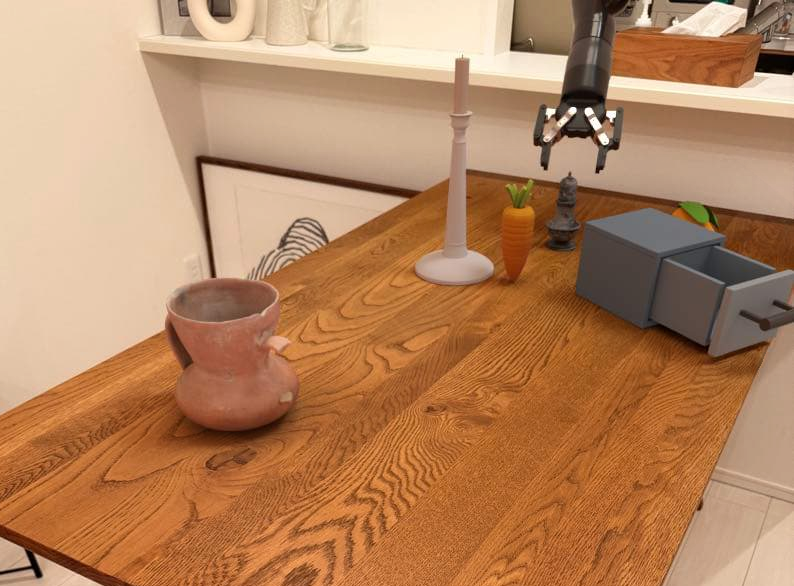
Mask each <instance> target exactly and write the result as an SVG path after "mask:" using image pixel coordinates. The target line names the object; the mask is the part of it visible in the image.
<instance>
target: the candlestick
mask: <svg viewBox="0 0 794 586" xmlns="http://www.w3.org/2000/svg"><path fill="white" fill-rule="evenodd" d="M454 59H455V60H454V84H453V85H454V86H453V89H454V90H453V110H450V111H448V112H447V114H448V115H449V117H450V119H451V122H450V127H451V128H452V129H453V139H452V140H451V143H452V144H451V157H450V167H449V168H450V169H449V170H450V171H449V180H448V181H449V182H448V193H447V194H448V195H447V205H446V206H447V207H446V219H445V220H446V221H445V230H444V240H443V242H444V243H443V249H439V250H434V251H432V252H428V253H427V254H425V255H423V256H422V257H421V258H420V259H418V260H417V261H416V262H415V265H414V272H415V275H416V276H417V277H418V278H420V279H422V280H424V281H426V282H428V283H432V284H435V285H441V286H467V285H473V284H478V283H481V282H484V281H486V280H488V279H490V278H491V277H492V276H493V275H494V272H495V271H494V270H495V266H494V263H493V262H492V261H491V260H490V259H489V258H488V257H487V256H485V255H484V254H482V253H480V252H477V251H475V250H471V249H468V247H467V139H466V133H467V128H468V127H469V126H470V121H469V119H470V117H471V116H472V115H473V114H474V112H473V111H470V110H469V109H468V106H469V84H470V62H471V61H470V60H471V58H470V57H464V54H462V55H461V57H456V58H454Z"/></svg>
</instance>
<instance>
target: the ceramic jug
mask: <svg viewBox="0 0 794 586" xmlns="http://www.w3.org/2000/svg"><path fill="white" fill-rule="evenodd" d="M165 306H166V311H167V314H166V317H165V321H164V333H165V338H166V341H167V343H168V346H169V348H170V350H171V352H172V354H173V356H174V357H175V359H176V361H177V362H178V364H179V366H180V368H181V369H182V372H181V374H180V375H179V376H178V378H177V380H176V383H175V385H174V390H173V397H174V401H175V403H176V406H177V408H178V409H179V411H180V412H181V413H182V415H184V417H185V418H187V419H188V420H190V421H191V422H193V423H194V424H195V425H198V426H201V427H204V428H205V429H210V430H214V431H222V432H243V431H249V430H253V429H259V428H262V427H264V426H266V425H269V424H271V423H273V422H275V421H277V420H279V419H280V418H282V417H283V416H284V415H286V414H287V413H288V412H289V411H290V410H291V409H292V408H293V407H294V405H295V403H296V401H297V399H298V396H299V392H300V379H299V376H298V373H297V370H295V368H294V367H293V366H292V365H291V364H290V363H289V362H287V360H285V359H283V357H280V356H278V355H283V354H284V352H285V351H286V349H287V348H288V347H290V346H291V345H292V342H291V341H290V340H289V339H288V338H287V337H284V336H281V335H275V330H276V328H277V326H278V323H279V320H280V319H279V318H280V311H281V297H280V292H279V291H278V289H277V288H276V287H275V286H274V285H272V284H271V283H268V282H266V281H264V280H258V279H251V278H240V277H213V278H212V277H211V278H203V279H200V280H195V281H194V282H188V283H186V284H182V285H181V286H179V287H177V288H175V290H174V291H173V292H171V293H170V294H169V295H168V297H167V298H166V305H165ZM271 350H273V351H274V352H276V354H274V353H271Z"/></svg>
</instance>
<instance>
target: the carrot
mask: <svg viewBox="0 0 794 586" xmlns="http://www.w3.org/2000/svg"><path fill="white" fill-rule="evenodd" d="M533 185H534V180H533V179H528V181H527V183H526V185H522V187H521V189H520V190H519V191H518V188H517V185H516V183H513V184H512V185H511V184H510V183H507V184H506V185H505V188H504V189H506V192H507V193H508V195H509V197H510V200H511V202H512V204H511V205H508V206H506V207H505V208H504V209H503V211H502V215H501V252H502V259H503V264H504V268H505V271H506V273H507V277H508V279H509V280H510V281H511V282H512V283H514V282H515V281H516V280H518V278H519V276H520V275H521V273H522V272H523V270H524V268H525V266H526V263H527V260H528V257H529V254H530V251H531V246H532V242H533V235H534V229H535V222H536V214H535V211H534V208H533V207H532V206H530V205H528V204H526V203H527V201H528V200H529V199H530V197H531V196H532V193H531V191H532V188H533Z"/></svg>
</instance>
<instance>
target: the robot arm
mask: <svg viewBox="0 0 794 586" xmlns="http://www.w3.org/2000/svg"><path fill="white" fill-rule="evenodd" d="M631 1H632V0H570V8H571V18H572V19H571V20H572V25H573V32H572V37H571V42H570V48H569V53H568V57H567V59H566V64H565V69H564V75H563V79H562V80H563V81H562V87H561V93H560V99H559V104H558V106H557V107H556V108H548V106H547V104H545V103H542V104H540V105H539V109H538V112H537V117H536V121H535V126H534V129H533V133H532V138H533V139H532V140H533V142H532V143H533V146H534V147H540V148H541V152H540V157H539V165H540V167H541V168H543V169H542V170H543V171H545V172H546V171H547V172H548V171H549V165H550V159H551V154H552V153H551V152H552V148H553V147H554V146H555V145H556V144H558V143H560V142H561V141H562V140H563V139H564V138H565V137H567V139H575V138H579V139H582V140H586V139H587V138H589V137H590V139H591V141H592V143H593V144H594V145H596V146H597V148H598V151H597V158H596V164H595V170H594V174H595V175H596V174H597V175H599V174H600V171H604V169H605V167H606V161H607V156H608V152H610V151H618V150H620V145H621V140H622V129H623V121H624V111H625V110H624V108H623V107H621V106H619V107H617V108H616V110H607V108H606V103H607V97H608V91H609V85H610V81H611V76H612V74H611V73H612V67H613V53H614V47H615V46H614V45H615V41H616V40H615V39H616V34H617V33H616V32H617V22H616V19H615V17H616V16H618V15H619V14H621V13H623V11H624V10H626V8H627V6H629V4H630V2H631ZM553 118H554V119H555V123H554V125H553V126H552V128H551V130H549V131H548V132H547V133H546V134H545V135H544V130H545V127H546V125H547V124H549V123H550V122H551V120H552V119H553ZM606 121H608V122H609V126H611V128H613V131H612V137H610V138H608V136H607V134H606V132H605V131H604V128H603V126H602V125H603V124H604V123H605V122H606Z"/></svg>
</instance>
